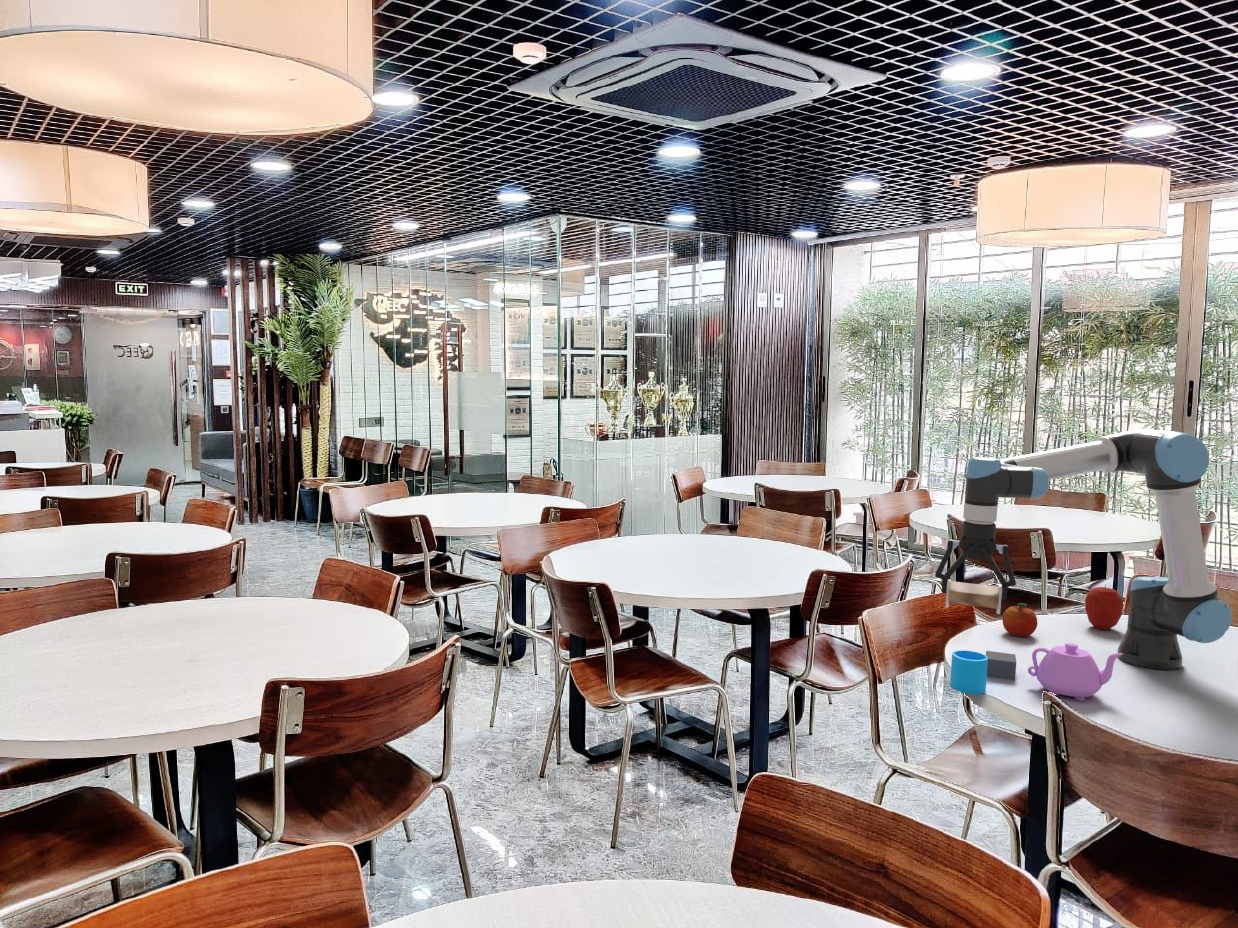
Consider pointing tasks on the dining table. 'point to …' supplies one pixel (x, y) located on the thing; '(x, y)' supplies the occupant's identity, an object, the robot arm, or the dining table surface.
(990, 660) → the block
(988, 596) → the block
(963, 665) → the mug
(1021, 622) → the fruit
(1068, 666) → the teapot
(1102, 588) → the apple
